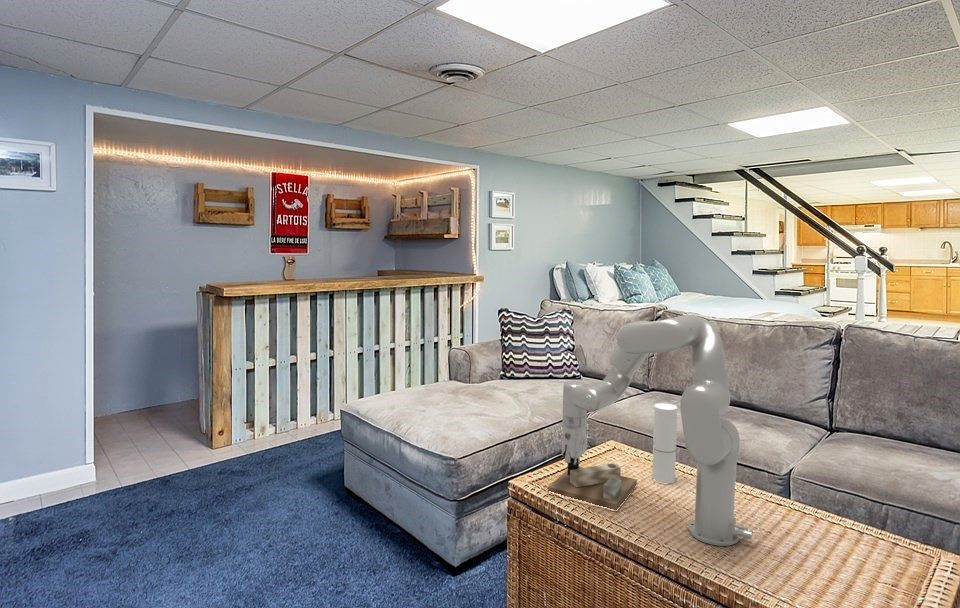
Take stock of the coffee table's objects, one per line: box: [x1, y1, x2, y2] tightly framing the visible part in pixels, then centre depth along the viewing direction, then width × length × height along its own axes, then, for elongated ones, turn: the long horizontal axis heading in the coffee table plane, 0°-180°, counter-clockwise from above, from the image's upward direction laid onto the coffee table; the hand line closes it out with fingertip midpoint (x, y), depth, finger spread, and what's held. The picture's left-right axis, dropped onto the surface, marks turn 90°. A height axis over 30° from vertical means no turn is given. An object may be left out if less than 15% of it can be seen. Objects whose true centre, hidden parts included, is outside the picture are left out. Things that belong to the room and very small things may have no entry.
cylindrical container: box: [651, 402, 678, 483], centre depth 179 cm, size 7×7×25 cm
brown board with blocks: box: [547, 466, 638, 510], centre depth 172 cm, size 22×20×6 cm
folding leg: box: [570, 462, 622, 487], centre depth 173 cm, size 16×4×4 cm, turn 110°
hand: (573, 475), depth 175 cm, fingers closed
